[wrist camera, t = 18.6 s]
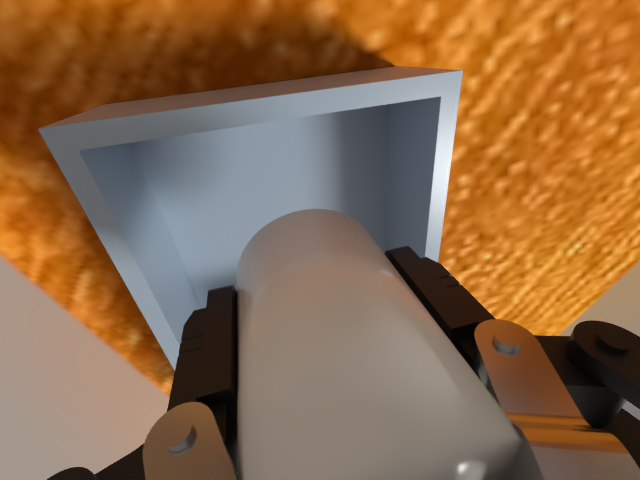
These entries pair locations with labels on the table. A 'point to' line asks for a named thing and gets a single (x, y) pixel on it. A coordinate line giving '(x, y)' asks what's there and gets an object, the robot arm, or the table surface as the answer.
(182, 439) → the robot arm
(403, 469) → the white rounded cylinder
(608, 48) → the table surface
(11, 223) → the table surface
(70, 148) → the tote
